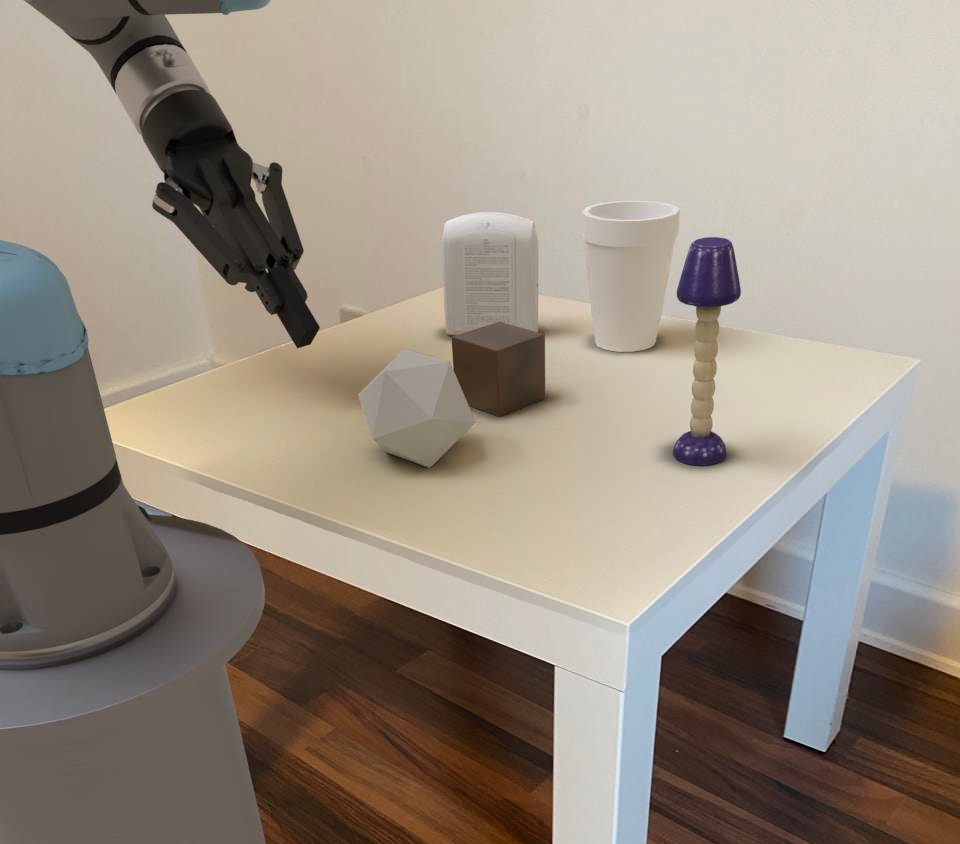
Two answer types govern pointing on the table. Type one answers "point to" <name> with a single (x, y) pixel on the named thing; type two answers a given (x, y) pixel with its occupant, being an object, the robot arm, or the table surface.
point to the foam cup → (628, 269)
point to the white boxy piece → (490, 272)
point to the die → (416, 408)
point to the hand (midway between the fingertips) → (308, 337)
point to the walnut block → (500, 367)
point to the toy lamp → (706, 340)
